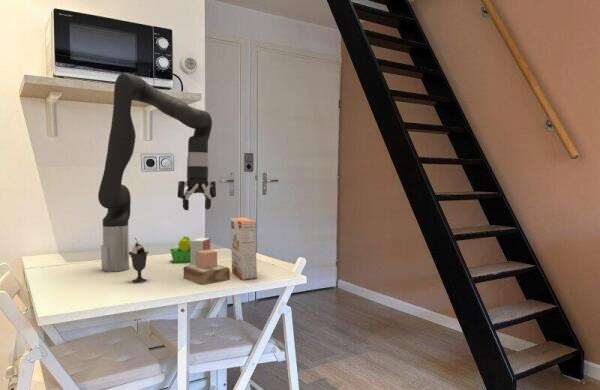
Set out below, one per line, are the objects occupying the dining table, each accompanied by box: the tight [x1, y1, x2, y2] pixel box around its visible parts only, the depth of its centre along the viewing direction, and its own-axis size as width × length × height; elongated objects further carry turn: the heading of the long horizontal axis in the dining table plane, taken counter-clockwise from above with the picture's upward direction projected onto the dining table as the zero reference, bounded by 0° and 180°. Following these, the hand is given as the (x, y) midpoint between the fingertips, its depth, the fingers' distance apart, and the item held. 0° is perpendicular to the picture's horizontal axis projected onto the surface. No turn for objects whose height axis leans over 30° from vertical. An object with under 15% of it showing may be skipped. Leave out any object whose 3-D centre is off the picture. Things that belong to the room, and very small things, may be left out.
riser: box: [183, 264, 231, 286], centre depth 158 cm, size 11×13×4 cm
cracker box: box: [230, 216, 258, 281], centre depth 162 cm, size 14×6×21 cm, turn 23°
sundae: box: [129, 237, 150, 284], centre depth 154 cm, size 7×7×15 cm
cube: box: [195, 249, 218, 269], centre depth 157 cm, size 6×6×6 cm
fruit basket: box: [169, 235, 191, 264], centre depth 188 cm, size 11×9×11 cm
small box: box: [189, 237, 211, 265], centre depth 182 cm, size 8×6×10 cm
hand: (196, 209), depth 162 cm, fingers open, 8 cm apart
